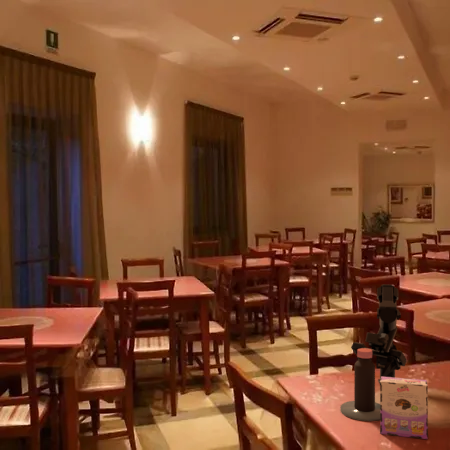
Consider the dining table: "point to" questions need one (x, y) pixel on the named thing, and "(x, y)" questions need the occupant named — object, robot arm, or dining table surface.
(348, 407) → the plate
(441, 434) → the dining table surface
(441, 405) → the dining table surface
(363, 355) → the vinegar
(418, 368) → the dining table surface
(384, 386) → the candy box
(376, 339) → the robot arm
